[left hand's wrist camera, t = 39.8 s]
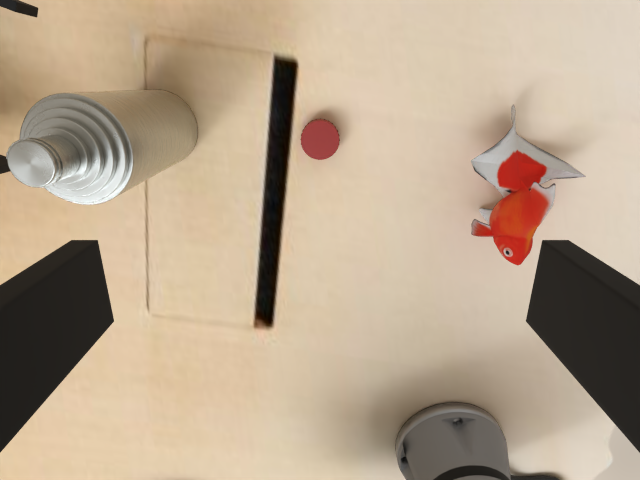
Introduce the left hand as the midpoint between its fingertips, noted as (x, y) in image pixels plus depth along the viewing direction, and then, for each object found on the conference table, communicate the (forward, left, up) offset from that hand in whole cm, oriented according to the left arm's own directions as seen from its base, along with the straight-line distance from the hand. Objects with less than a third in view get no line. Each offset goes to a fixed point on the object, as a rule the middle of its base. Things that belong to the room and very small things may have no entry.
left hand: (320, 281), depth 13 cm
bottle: (+13, +11, -34) cm, 38 cm away
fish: (-17, -11, -34) cm, 40 cm away
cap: (0, 0, -33) cm, 33 cm away
